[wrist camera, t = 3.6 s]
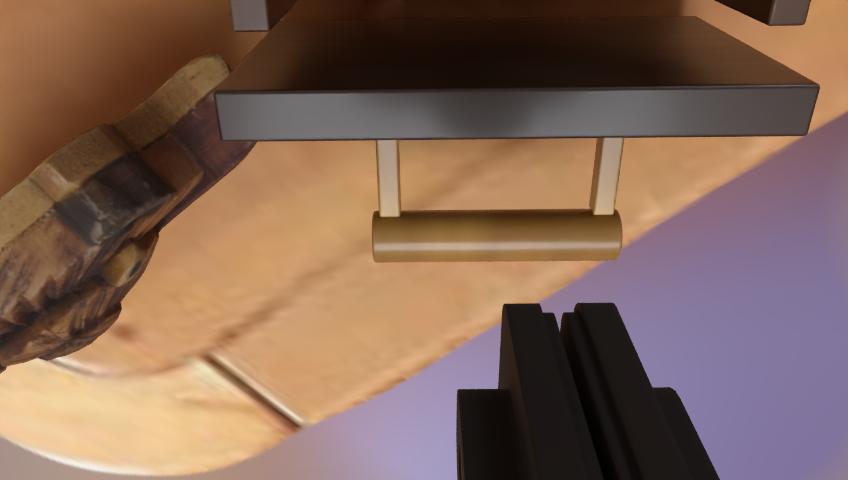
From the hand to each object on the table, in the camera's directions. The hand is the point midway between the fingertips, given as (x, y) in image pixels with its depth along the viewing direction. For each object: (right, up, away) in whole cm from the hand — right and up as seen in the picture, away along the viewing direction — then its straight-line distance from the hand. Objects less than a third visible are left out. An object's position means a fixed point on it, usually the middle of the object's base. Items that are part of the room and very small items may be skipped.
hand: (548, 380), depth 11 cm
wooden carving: (-13, +4, +15) cm, 20 cm away
